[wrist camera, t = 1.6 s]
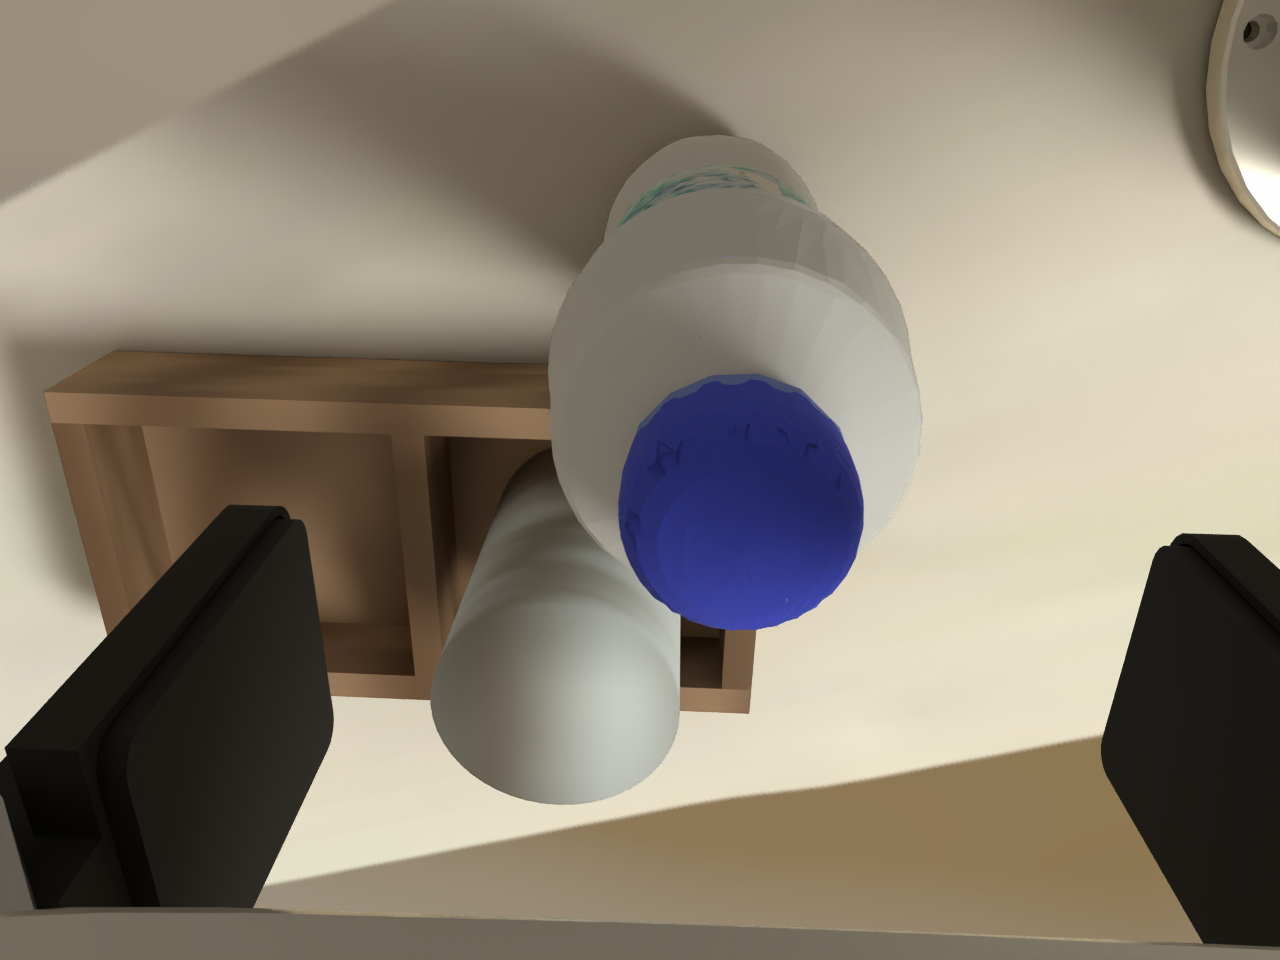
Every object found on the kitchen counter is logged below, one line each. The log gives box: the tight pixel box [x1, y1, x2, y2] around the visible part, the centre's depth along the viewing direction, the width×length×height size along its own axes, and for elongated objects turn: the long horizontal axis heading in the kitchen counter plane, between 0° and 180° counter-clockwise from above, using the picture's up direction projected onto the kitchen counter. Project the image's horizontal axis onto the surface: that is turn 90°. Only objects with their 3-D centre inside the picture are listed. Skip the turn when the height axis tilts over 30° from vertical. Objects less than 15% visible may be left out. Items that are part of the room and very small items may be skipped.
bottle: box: [548, 135, 922, 631], centre depth 21 cm, size 7×7×20 cm
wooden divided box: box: [43, 351, 756, 805], centre depth 30 cm, size 22×11×11 cm, turn 89°
